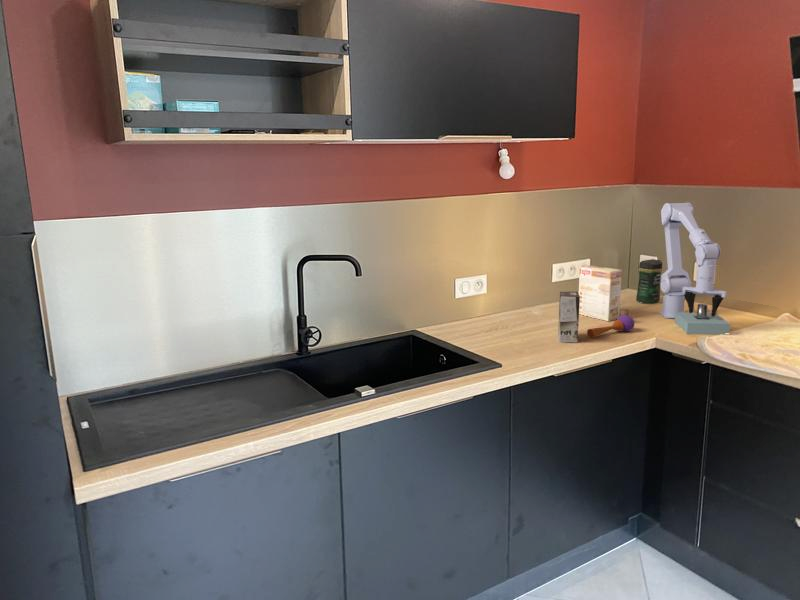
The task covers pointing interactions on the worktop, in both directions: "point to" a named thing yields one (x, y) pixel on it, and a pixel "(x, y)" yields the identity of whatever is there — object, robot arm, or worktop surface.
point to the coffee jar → (649, 281)
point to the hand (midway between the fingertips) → (702, 314)
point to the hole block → (701, 324)
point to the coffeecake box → (600, 292)
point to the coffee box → (568, 316)
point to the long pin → (702, 311)
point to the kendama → (614, 326)
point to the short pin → (623, 312)
